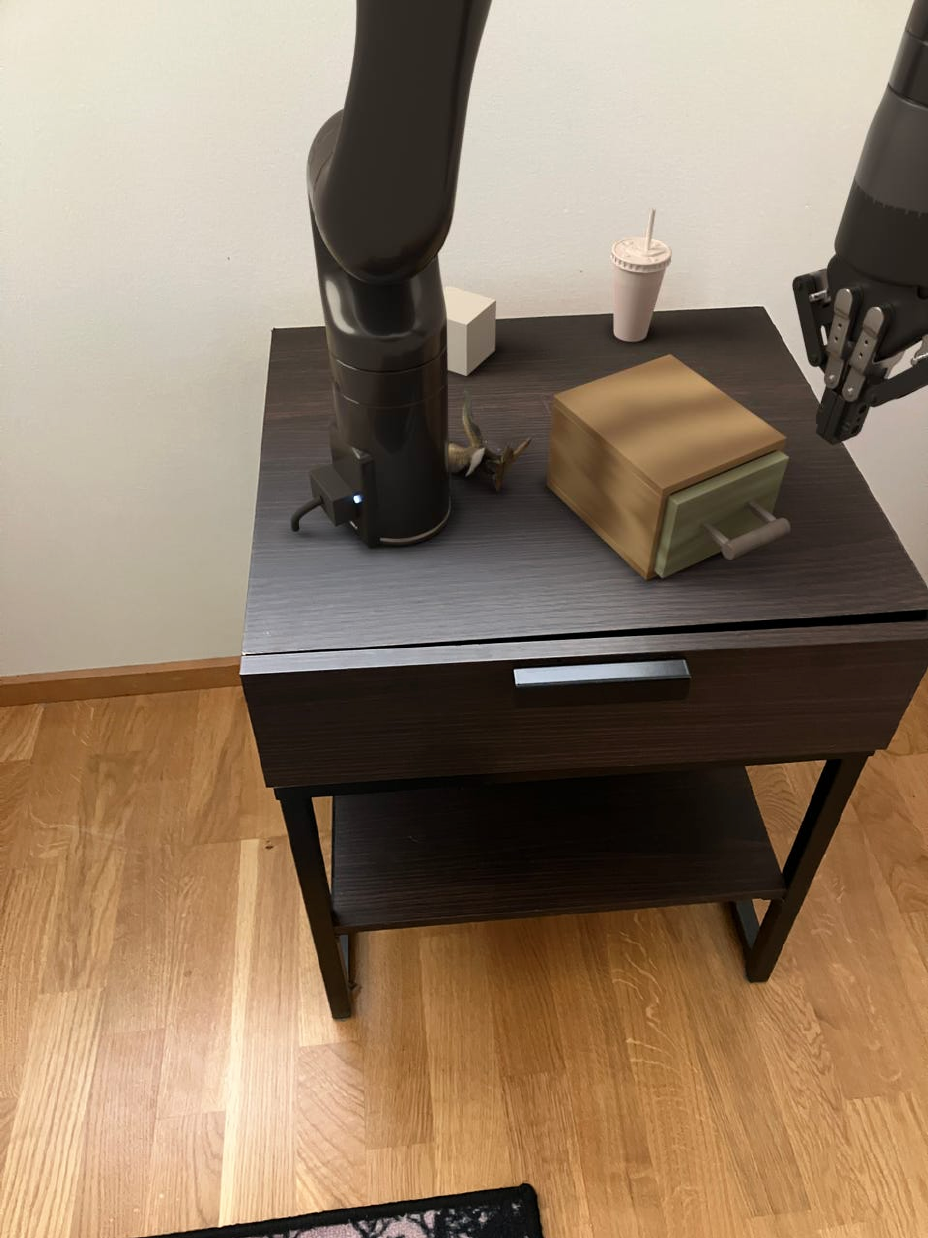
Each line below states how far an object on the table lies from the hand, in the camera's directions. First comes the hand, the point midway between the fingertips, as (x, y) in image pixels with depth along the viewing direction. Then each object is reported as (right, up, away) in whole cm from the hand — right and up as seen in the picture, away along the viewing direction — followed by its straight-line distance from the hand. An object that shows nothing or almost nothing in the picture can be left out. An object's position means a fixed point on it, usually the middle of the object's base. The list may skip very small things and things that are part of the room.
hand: (833, 436), depth 66 cm
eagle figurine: (-25, +1, +25) cm, 35 cm away
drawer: (-7, -4, +18) cm, 20 cm away
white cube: (-26, +16, +39) cm, 49 cm away
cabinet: (-9, -2, +21) cm, 23 cm away
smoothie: (-7, +19, +42) cm, 47 cm away
